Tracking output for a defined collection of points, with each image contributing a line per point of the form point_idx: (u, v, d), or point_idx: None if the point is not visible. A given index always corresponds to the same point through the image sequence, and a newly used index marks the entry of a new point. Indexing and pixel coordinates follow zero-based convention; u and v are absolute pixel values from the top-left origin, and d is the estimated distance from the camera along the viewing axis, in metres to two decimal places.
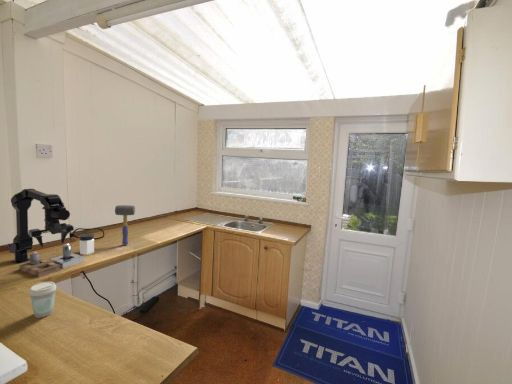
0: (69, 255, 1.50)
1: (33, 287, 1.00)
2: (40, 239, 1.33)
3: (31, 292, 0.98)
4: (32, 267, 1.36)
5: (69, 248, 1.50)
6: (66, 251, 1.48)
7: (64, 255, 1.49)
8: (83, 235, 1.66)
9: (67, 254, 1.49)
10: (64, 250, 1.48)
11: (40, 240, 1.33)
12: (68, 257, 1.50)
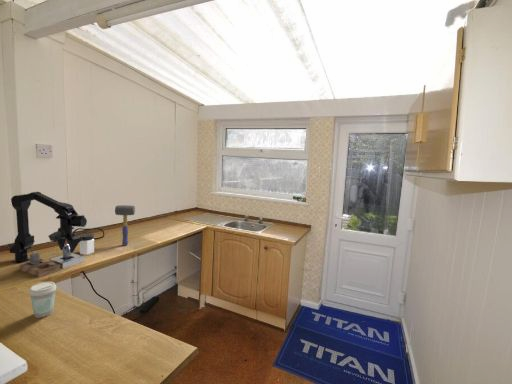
0: (69, 255, 1.50)
1: (33, 287, 1.00)
2: (57, 242, 1.50)
3: (31, 292, 0.98)
4: (32, 267, 1.36)
5: (69, 248, 1.50)
6: (66, 251, 1.48)
7: (64, 255, 1.49)
8: (83, 235, 1.66)
9: (67, 254, 1.49)
10: (64, 250, 1.48)
11: (58, 243, 1.51)
12: (68, 257, 1.50)
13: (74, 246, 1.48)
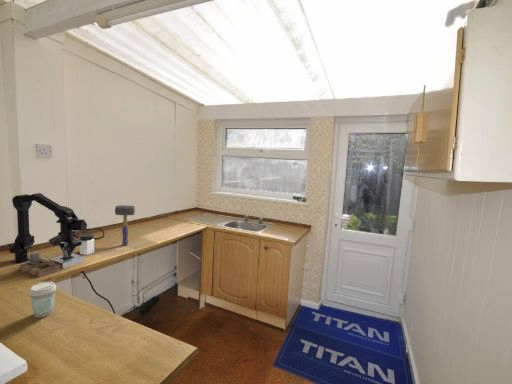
0: None
1: (33, 287, 1.00)
2: (60, 247, 1.50)
3: (31, 292, 0.98)
4: (32, 267, 1.36)
5: None
6: (66, 251, 1.48)
7: (64, 255, 1.49)
8: (83, 235, 1.66)
9: (67, 254, 1.49)
10: (64, 250, 1.48)
11: (61, 248, 1.50)
12: (68, 257, 1.50)
13: (72, 249, 1.50)
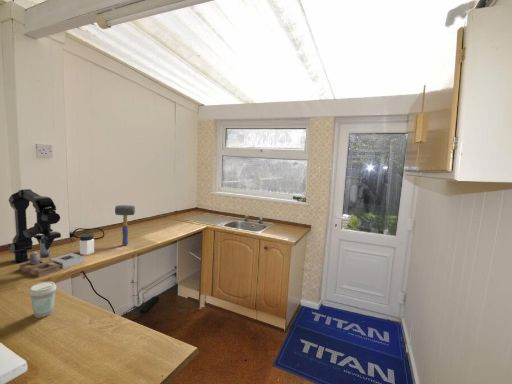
0: None
1: (33, 287, 1.00)
2: (37, 239, 1.36)
3: (31, 292, 0.98)
4: (32, 267, 1.36)
5: None
6: (43, 244, 1.35)
7: (41, 248, 1.35)
8: (83, 235, 1.66)
9: None
10: (41, 243, 1.35)
11: (38, 240, 1.36)
12: (46, 251, 1.36)
13: (50, 242, 1.36)
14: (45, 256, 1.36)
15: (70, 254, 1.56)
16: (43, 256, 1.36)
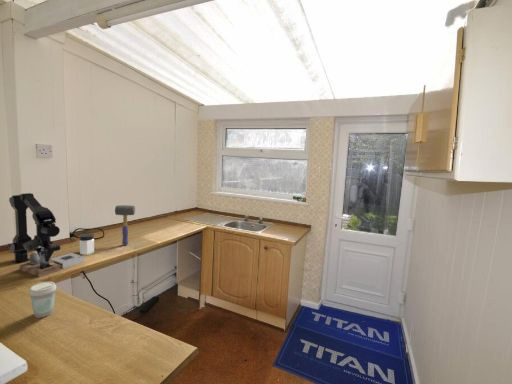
0: None
1: (33, 287, 1.00)
2: (37, 251, 1.37)
3: (31, 292, 0.98)
4: (32, 267, 1.36)
5: None
6: (43, 256, 1.35)
7: (41, 261, 1.36)
8: (83, 235, 1.66)
9: (44, 259, 1.36)
10: (41, 255, 1.35)
11: (38, 252, 1.37)
12: (45, 263, 1.37)
13: (49, 254, 1.37)
14: None
15: (70, 254, 1.56)
16: (43, 268, 1.36)
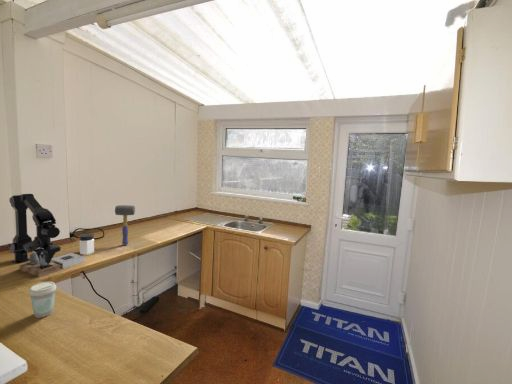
0: None
1: (33, 287, 1.00)
2: (36, 252, 1.37)
3: (31, 292, 0.98)
4: (32, 267, 1.36)
5: None
6: (43, 259, 1.36)
7: (41, 264, 1.36)
8: (83, 235, 1.66)
9: (45, 262, 1.36)
10: (41, 258, 1.35)
11: (36, 253, 1.37)
12: (46, 266, 1.37)
13: (51, 256, 1.36)
14: None
15: (70, 254, 1.56)
16: None
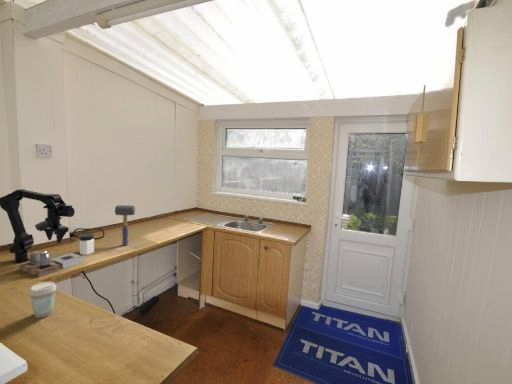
0: (47, 263, 1.37)
1: (33, 287, 1.00)
2: (45, 232, 1.49)
3: (31, 292, 0.98)
4: (32, 267, 1.36)
5: (47, 256, 1.37)
6: (43, 259, 1.36)
7: (41, 264, 1.36)
8: (83, 235, 1.66)
9: (45, 262, 1.36)
10: (41, 258, 1.35)
11: (46, 233, 1.50)
12: (46, 266, 1.37)
13: (61, 236, 1.47)
14: None
15: (70, 254, 1.56)
16: None
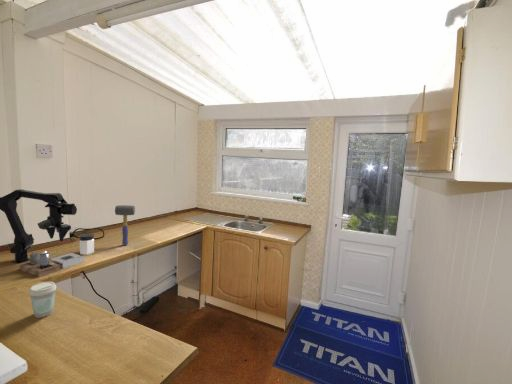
0: (47, 263, 1.37)
1: (33, 287, 1.00)
2: (47, 231, 1.52)
3: (31, 292, 0.98)
4: (32, 267, 1.36)
5: (47, 256, 1.37)
6: (43, 259, 1.36)
7: (41, 264, 1.36)
8: (83, 235, 1.66)
9: (45, 262, 1.36)
10: (41, 258, 1.35)
11: (48, 231, 1.52)
12: (46, 266, 1.37)
13: (63, 234, 1.50)
14: None
15: (70, 254, 1.56)
16: None
